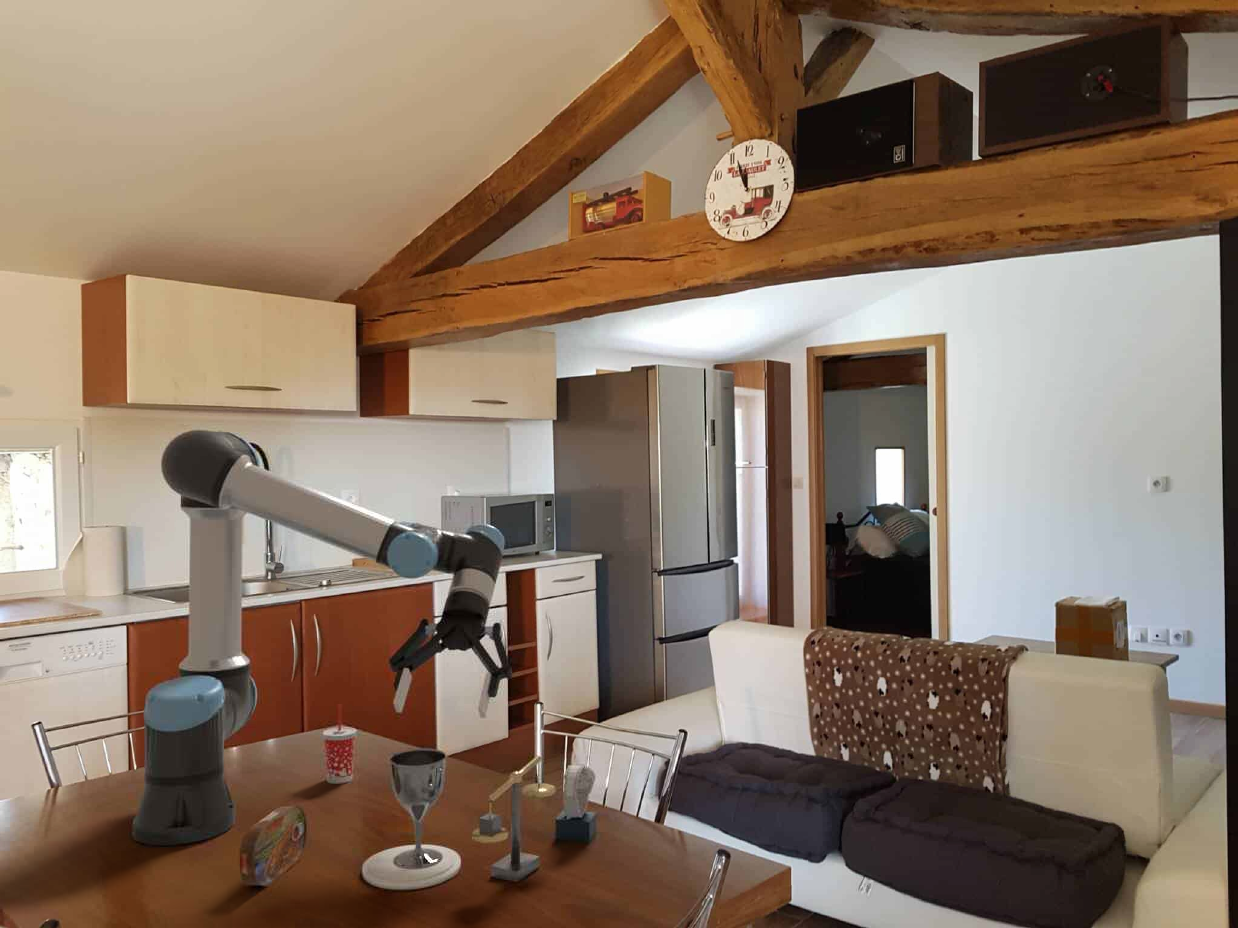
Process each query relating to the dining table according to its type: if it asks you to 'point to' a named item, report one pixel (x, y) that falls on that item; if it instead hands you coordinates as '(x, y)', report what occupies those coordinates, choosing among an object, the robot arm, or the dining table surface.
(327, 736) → the beverage cup
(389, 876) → the dish
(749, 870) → the dining table surface
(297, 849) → the tin
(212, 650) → the robot arm
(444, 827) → the dining table surface
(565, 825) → the watch
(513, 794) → the balance
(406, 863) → the wine glass
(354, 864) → the dining table surface
